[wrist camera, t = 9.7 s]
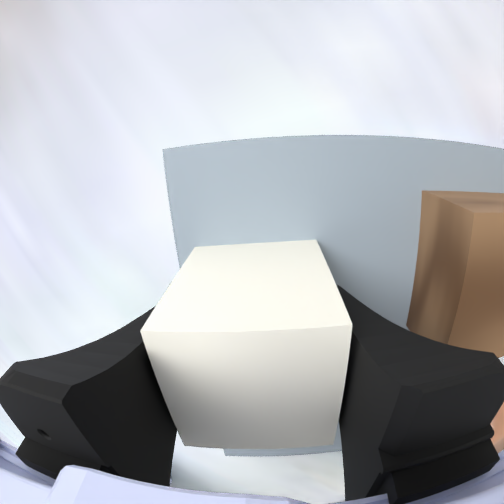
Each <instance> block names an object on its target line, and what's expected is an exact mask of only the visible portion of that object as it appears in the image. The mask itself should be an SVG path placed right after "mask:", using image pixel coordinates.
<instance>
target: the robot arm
mask: <svg viewBox="0 0 504 504" xmlns="http://www.w3.org/2000/svg"><path fill="white" fill-rule="evenodd" d="M336 286H337V288H338V290H339V293H340V295H341V297H342V300H343V302H344V305H345V307H346V310H347V312H348V315H349V317H350V319H351V322H352V324H353V325H352V334H351V343H350V351H349V359H348V366H347V373H346V380H345V386H344V392H343V398H342V404H341V409H340V415H339V427H340V435H341V444H342V454H343V466H344V480H345V502H338V503H330V504H504V450H503V451H501V452H499V453H497V451H496V449H495V447H494V445H493V443H492V441H491V438H492V437H493V436H494V430H493V428H492V426H491V424H490V423H491V422H492V420H493V419H494V417H495V415H496V414H497V412H498V411H499V409H500V407H501V406H502V404H503V402H504V365H503V364H502V363H501V361H500V360H499V359H498V358H497V356H496V355H495V354H494V353H492V352H485V351H478V350H471V349H465V348H460V347H456V346H452V345H448V344H444V343H441V342H438V341H435V340H432V339H429V338H426V337H423V336H421V335H418V334H416V333H413V332H411V331H409V330H407V329H405V328H403V327H401V326H399V325H397V324H394V323H393V322H391V321H389V320H387V319H386V318H384V317H382V316H381V315H379V314H378V313H376V312H374V311H373V310H371V309H370V308H369V307H367V306H366V305H364V304H363V303H362V302H360V301H359V300H357V299H356V298H355V297H354V296H352V295H351V294H350V293H348V292H347V291H346V290H344V289H343V288H342V287H340V286H339V285H337V284H336ZM155 307H156V306H155ZM155 307H153V308H152V309H151V310H149V311H148V312H146V313H145V314H143V315H142V316H140V317H138V318H137V319H135V320H134V321H132V322H130V323H129V324H127V325H126V326H124V327H122V328H121V329H119V330H117V331H115V332H113V333H111V334H109V335H107V336H105V337H103V338H101V339H99V340H97V341H94V342H92V343H89V344H86V345H84V346H81V347H79V348H76V349H73V350H70V351H67V352H64V353H60V354H56V355H53V356H49V357H44V358H39V359H33V360H27V361H20V362H15V363H14V364H13V365H12V366H11V367H10V368H9V369H8V370H7V371H6V373H5V374H4V375H3V376H2V377H1V378H0V404H1V405H2V407H3V409H4V410H5V412H6V413H7V414H8V416H9V417H10V418H11V420H12V421H13V422H14V424H15V425H16V426H17V428H18V429H19V430H20V431H21V433H22V434H23V435H24V436H25V439H24V440H23V442H22V443H21V445H20V447H19V448H18V449H17V448H15V447H13V446H11V445H9V444H7V443H6V442H4V441H2V440H1V439H0V504H310V503H306V502H302V501H298V500H294V499H290V498H287V497H276V496H262V495H252V494H233V493H217V492H206V491H196V490H188V489H181V488H174V487H170V484H171V483H172V479H171V478H170V476H171V467H172V459H173V452H174V445H175V439H176V433H177V428H176V426H175V424H174V421H173V419H172V417H171V414H170V412H169V409H168V407H167V405H166V402H165V400H164V397H163V394H162V392H161V389H160V387H159V384H158V381H157V379H156V376H155V373H154V371H153V368H152V365H151V362H150V359H149V356H148V353H147V350H146V347H145V344H144V341H143V338H142V335H141V332H140V331H141V329H142V327H143V326H144V324H145V323H146V321H147V319H148V318H149V316H150V315H151V313H152V311H153V310H154V308H155Z"/></svg>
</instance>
